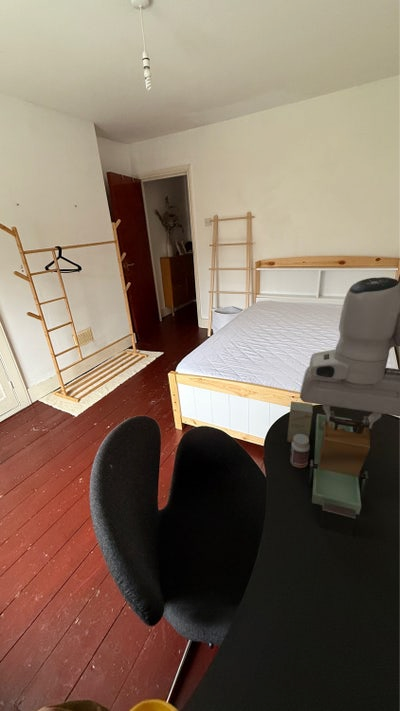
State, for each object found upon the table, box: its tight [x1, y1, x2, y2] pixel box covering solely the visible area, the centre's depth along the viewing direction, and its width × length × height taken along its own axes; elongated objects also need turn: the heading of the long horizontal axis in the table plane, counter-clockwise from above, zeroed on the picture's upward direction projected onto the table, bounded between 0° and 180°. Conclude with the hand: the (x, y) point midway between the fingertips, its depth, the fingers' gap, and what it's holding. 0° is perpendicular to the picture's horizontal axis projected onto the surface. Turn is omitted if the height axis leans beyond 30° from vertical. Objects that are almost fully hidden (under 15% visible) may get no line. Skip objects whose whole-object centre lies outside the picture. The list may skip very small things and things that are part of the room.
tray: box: [311, 413, 362, 516], centre depth 82 cm, size 32×10×3 cm, turn 159°
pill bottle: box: [289, 434, 311, 469], centre depth 81 cm, size 5×5×8 cm
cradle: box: [307, 459, 369, 537], centre depth 68 cm, size 12×12×7 cm
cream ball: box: [322, 422, 333, 429], centre depth 92 cm, size 3×3×3 cm
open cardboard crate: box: [319, 417, 371, 478], centre depth 67 cm, size 17×9×6 cm
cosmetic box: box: [286, 400, 314, 443], centre depth 88 cm, size 6×4×12 cm
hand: (347, 423), depth 63 cm, fingers closed on open cardboard crate, 6 cm apart
